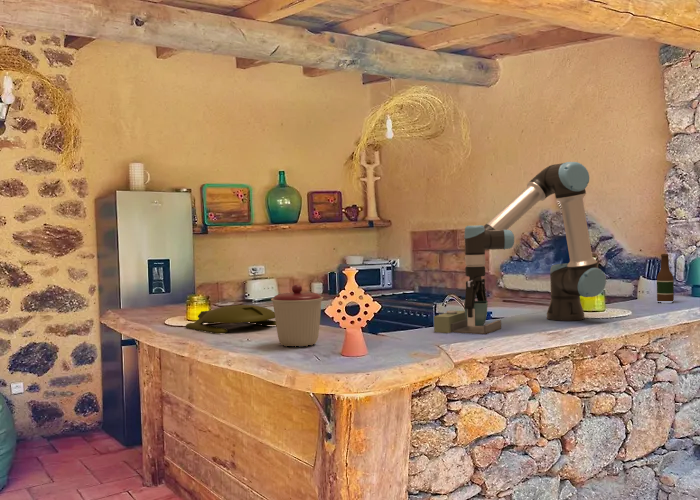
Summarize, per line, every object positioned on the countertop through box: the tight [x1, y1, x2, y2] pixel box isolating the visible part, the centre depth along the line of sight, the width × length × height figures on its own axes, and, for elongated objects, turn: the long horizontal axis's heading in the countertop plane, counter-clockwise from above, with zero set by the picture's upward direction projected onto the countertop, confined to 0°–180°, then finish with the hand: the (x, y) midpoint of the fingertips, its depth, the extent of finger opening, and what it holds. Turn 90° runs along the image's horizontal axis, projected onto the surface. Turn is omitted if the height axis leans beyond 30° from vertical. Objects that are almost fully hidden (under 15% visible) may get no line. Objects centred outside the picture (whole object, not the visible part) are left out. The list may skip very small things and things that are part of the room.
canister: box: [270, 284, 324, 348], centre depth 243 cm, size 18×18×21 cm
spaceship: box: [185, 304, 276, 334], centre depth 292 cm, size 35×31×10 cm
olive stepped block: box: [433, 310, 466, 334], centre depth 273 cm, size 6×20×7 cm, turn 148°
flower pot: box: [463, 300, 489, 326], centre depth 267 cm, size 9×9×9 cm
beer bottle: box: [656, 253, 675, 301], centre depth 342 cm, size 8×8×24 cm
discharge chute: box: [451, 319, 502, 335], centre depth 267 cm, size 14×16×3 cm
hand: (476, 324), depth 267 cm, fingers closed on flower pot, 10 cm apart
